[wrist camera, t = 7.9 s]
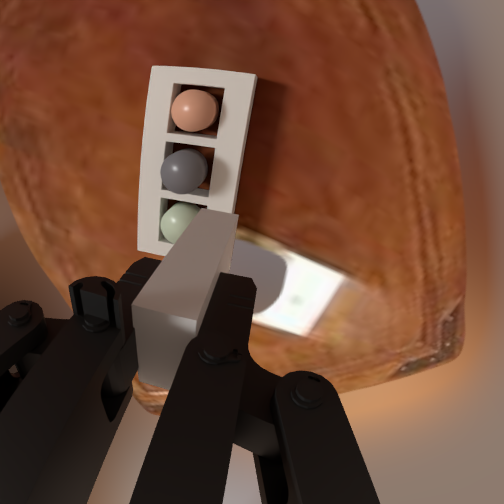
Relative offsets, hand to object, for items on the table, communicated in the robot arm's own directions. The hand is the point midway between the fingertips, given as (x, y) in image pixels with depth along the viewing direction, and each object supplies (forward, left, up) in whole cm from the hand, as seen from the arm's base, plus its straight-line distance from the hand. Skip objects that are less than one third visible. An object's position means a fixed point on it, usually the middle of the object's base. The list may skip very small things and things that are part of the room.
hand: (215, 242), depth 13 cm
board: (+3, -8, -26) cm, 28 cm away
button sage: (+10, -8, -25) cm, 28 cm away
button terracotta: (-4, -8, -25) cm, 27 cm away
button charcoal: (+3, -8, -24) cm, 25 cm away
